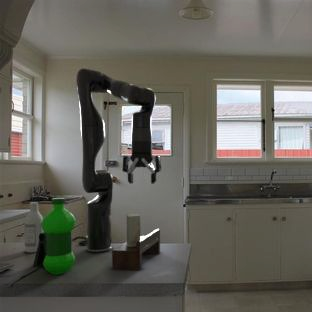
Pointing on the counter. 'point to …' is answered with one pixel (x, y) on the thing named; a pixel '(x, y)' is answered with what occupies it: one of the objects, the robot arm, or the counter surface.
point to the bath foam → (33, 228)
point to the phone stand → (40, 251)
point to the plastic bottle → (58, 238)
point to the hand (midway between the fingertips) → (142, 183)
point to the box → (133, 229)
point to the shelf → (135, 252)
